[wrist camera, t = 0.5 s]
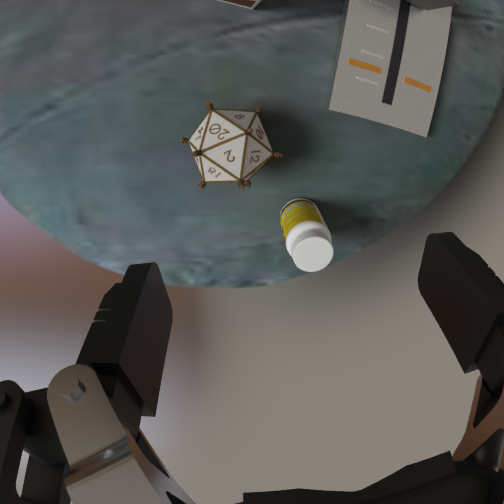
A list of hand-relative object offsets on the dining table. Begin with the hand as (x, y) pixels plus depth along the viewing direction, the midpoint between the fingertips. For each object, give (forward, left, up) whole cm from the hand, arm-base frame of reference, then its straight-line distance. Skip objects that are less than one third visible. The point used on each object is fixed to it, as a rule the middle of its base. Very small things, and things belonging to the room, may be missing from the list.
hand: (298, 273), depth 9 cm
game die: (+2, -2, -27) cm, 27 cm away
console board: (-13, +13, -26) cm, 32 cm away
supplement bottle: (+10, +7, -27) cm, 29 cm away
